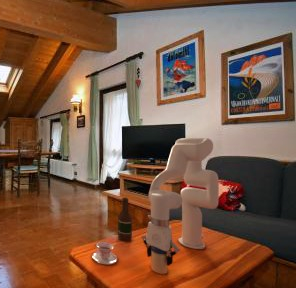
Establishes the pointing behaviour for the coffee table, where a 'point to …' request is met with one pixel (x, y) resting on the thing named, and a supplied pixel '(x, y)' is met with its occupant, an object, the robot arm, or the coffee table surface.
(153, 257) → the jar
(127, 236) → the beer bottle
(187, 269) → the coffee table surface
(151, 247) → the jar lid
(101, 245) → the teacup
